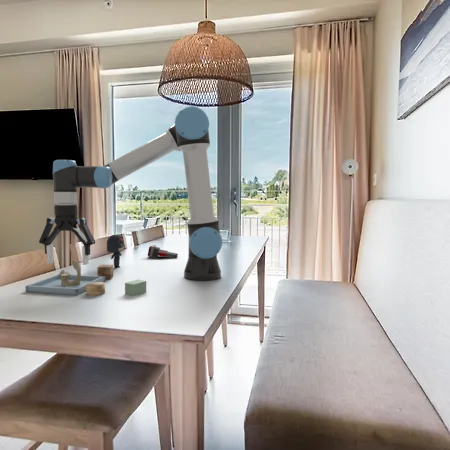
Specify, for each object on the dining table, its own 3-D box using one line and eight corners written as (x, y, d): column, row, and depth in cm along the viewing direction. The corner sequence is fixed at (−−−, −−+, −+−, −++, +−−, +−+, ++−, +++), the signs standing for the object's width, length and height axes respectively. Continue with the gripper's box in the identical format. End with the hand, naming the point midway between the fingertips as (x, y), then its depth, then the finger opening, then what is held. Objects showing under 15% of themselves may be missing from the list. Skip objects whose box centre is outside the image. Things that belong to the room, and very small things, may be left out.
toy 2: (176, 261, 199) (149, 255, 198) (178, 249, 199) (151, 244, 198) (174, 264, 190) (146, 258, 190) (177, 252, 190) (148, 246, 189)
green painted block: (146, 292, 127) (146, 281, 127) (133, 296, 122) (133, 284, 122) (138, 290, 129) (138, 279, 129) (125, 294, 124) (124, 282, 124)
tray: (104, 281, 140) (104, 276, 140) (77, 295, 122) (77, 289, 122) (59, 279, 143) (58, 273, 143) (25, 291, 125) (25, 286, 124)
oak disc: (96, 289, 128) (95, 281, 128) (108, 291, 126) (108, 283, 125) (82, 294, 123) (81, 285, 123) (95, 296, 120) (94, 287, 120)
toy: (118, 269, 161) (118, 236, 160) (102, 268, 163) (102, 235, 162) (128, 266, 170) (128, 233, 169) (112, 265, 172) (112, 233, 171)
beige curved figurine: (48, 282, 129) (59, 256, 133) (59, 287, 135) (69, 262, 139) (68, 286, 127) (79, 259, 131) (78, 291, 133) (89, 265, 137)
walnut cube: (113, 276, 149) (112, 264, 149) (110, 279, 144) (110, 267, 144) (100, 276, 148) (100, 264, 148) (97, 279, 143) (97, 267, 143)
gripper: (104, 204, 132) (105, 262, 134) (40, 203, 135) (42, 260, 137) (93, 205, 124) (95, 266, 126) (26, 204, 128) (29, 264, 130)
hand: (67, 263), depth 132 cm, fingers open, 13 cm apart
